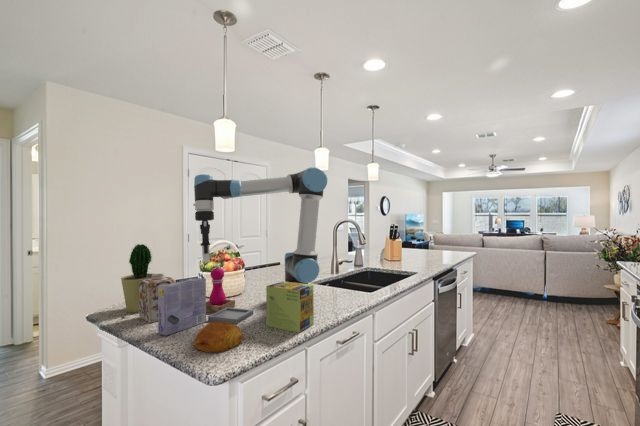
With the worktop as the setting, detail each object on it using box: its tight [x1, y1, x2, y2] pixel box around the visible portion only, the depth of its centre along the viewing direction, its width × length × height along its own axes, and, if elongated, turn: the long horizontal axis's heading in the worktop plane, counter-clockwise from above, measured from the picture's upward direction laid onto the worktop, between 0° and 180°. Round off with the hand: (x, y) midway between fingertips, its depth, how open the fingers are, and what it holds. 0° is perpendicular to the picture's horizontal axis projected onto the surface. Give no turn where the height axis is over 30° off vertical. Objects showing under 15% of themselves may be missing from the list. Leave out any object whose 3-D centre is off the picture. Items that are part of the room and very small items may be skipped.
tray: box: [207, 307, 254, 325], centre depth 136 cm, size 13×13×2 cm
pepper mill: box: [208, 264, 227, 306], centre depth 149 cm, size 7×7×20 cm
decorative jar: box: [138, 273, 176, 324], centre depth 138 cm, size 12×12×18 cm
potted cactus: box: [120, 243, 154, 313], centre depth 150 cm, size 15×15×30 cm
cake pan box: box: [157, 277, 207, 337], centre depth 125 cm, size 19×5×18 cm, turn 149°
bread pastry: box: [193, 321, 244, 353], centre depth 109 cm, size 14×16×8 cm
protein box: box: [265, 281, 315, 334], centre depth 127 cm, size 10×15×16 cm
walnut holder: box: [206, 298, 236, 314], centre depth 149 cm, size 11×11×3 cm
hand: (206, 261), depth 139 cm, fingers open, 13 cm apart
